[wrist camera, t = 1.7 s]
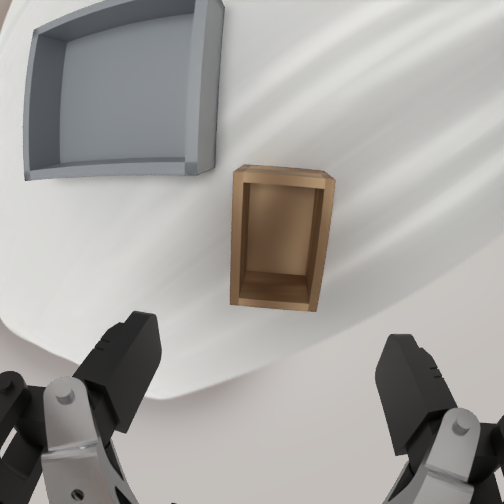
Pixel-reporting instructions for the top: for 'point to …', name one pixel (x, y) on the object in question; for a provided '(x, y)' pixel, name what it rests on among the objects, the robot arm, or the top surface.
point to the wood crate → (279, 236)
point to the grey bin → (124, 90)
